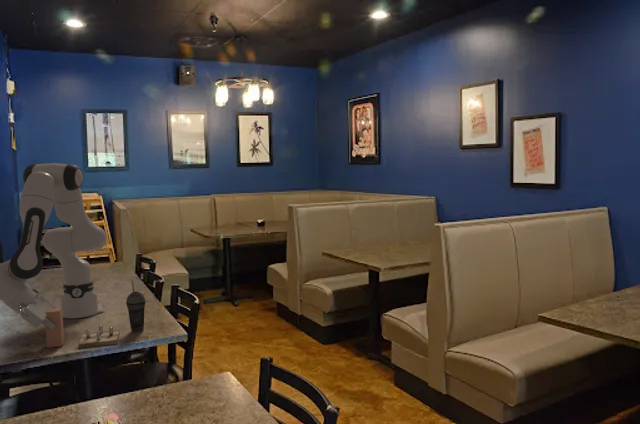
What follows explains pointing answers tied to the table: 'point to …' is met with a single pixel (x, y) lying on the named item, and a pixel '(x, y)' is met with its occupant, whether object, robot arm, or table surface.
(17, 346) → the table surface
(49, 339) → the terracotta post
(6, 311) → the table surface
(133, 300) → the beverage cup
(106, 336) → the pin plate
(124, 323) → the table surface
